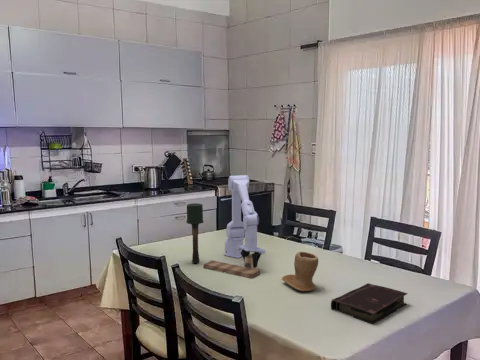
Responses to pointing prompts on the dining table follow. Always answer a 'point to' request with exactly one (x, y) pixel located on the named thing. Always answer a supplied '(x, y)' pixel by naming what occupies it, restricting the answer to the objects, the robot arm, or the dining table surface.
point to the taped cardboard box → (249, 262)
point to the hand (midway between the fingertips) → (251, 266)
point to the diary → (369, 302)
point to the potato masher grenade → (195, 226)
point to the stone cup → (303, 272)
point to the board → (232, 269)
